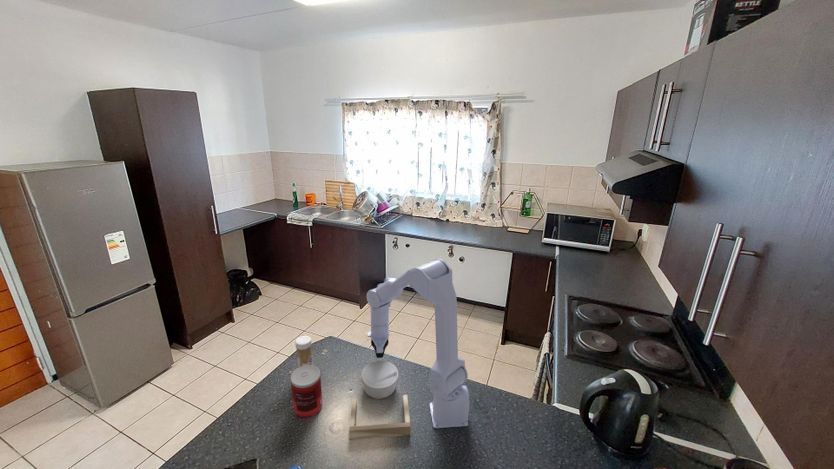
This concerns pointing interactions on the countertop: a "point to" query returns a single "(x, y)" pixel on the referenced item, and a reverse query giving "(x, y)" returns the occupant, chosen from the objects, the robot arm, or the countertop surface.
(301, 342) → the sprinkles bottle
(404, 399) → the birch dock
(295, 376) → the canned food
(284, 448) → the countertop surface
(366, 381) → the ramekin
